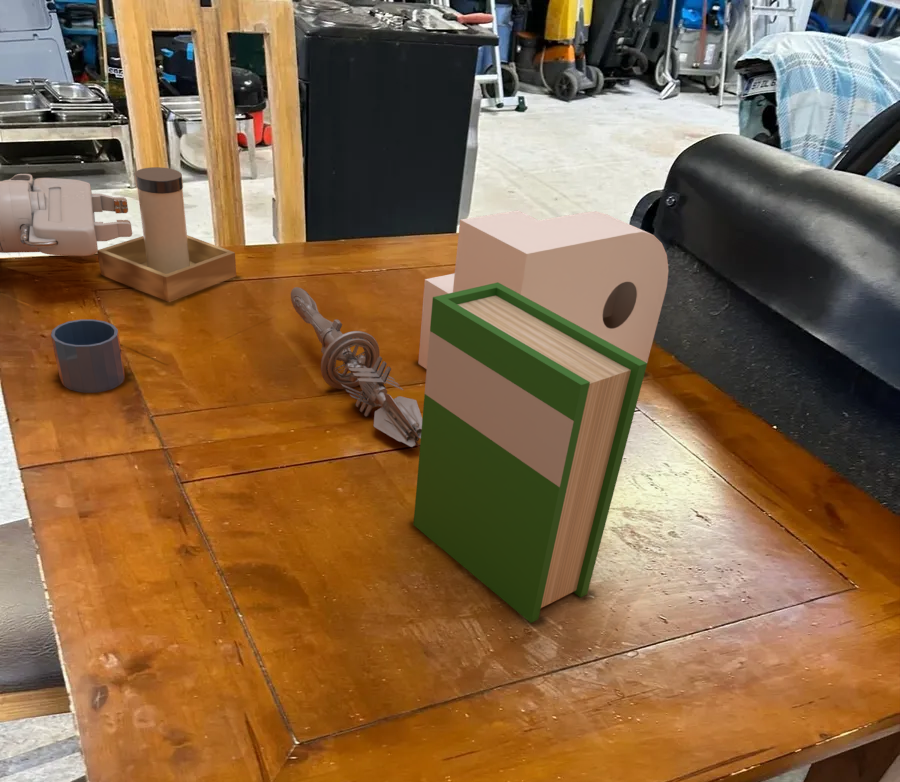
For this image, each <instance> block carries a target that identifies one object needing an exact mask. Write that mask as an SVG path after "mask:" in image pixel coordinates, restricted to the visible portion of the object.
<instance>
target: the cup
mask: <svg viewBox="0 0 900 782" xmlns="http://www.w3.org/2000/svg"><path fill="white" fill-rule="evenodd" d="M50 337H51V338H50V339H51V342H52V347H53V353H54V357H55V362H56V366H57V373H58V376H59V380H60V382H61V384H62V385H63V386H64V387H65V388H66V389H68V390H70V391H74V392H77V393H87V394H88V393H89V394H90V393H91V394H92V393H102V392H106V391H110V390H113V389H115V388H117V387H119V386H120V385H121V384H122V383H124V381H125V378H126V377H125V367H124V359H123V353H122V347H121V340H120V334H119V329H118V328H117V327H116V326H115V325H114V324H112V323H110V322H108V321H105V320H99V319H93V318H92V319H89V318H87V319H86V318H85V319H83V318H82V319H75V320H69V321H66V322H63V323H61V324H58V325H57V326H56V327H54V328H53V329H52V330H51V334H50Z"/></svg>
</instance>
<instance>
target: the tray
mask: <svg viewBox="0 0 900 782" xmlns="http://www.w3.org/2000/svg"><path fill="white" fill-rule="evenodd" d="M187 241H188V251H189V261H190V266H188V267H185V268H182V269H179V270H176V271H174V272H171V273H168V274H164V273H162V272H159V271H157V270H154V269H152V268H149V267H147V260H146V252H145V244H144V236H143V235H142V236H138V237H135V238H132V239H129V240H126V241H122V242H119V243H116V244H113V245H109V246H107V247H102V248H100V249H99V248H98V252H97V253H96V254H97V259H98V265H99V266H98V267H99V271H100V275H101V276H103V277H105V278H107V279H110V280H113V281H115V282H117V283H120V284H122V285H125V286H128V287H130V288H132V289H134V290H137V291H140V292H143V293H145V294H147V295H149V296H151V297H155V298H157V299H160V300H162V301H165V302H167V303H171V302H173V301H176V300H178V299H181V298H183V297H186V296H189V295H192V294H194V293H197V292H200V291H202V290H205V289H207V288H210V287H212V286H215V285H218V284H220V283H223V282H225V281H228V280H231V279H233V278H235V277H237V264H236V252H235V251H232V250H230V249H226V248H224V247H221V246H219V245H215V244H212V243H210V242H207V241H205V240H202V239H199V238H197V237H193V236H191V235H188V234H187Z"/></svg>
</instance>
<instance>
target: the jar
mask: <svg viewBox="0 0 900 782" xmlns="http://www.w3.org/2000/svg"><path fill="white" fill-rule="evenodd" d="M134 179H135V187H136V189H137V196H138V204H139V211H140V212H139V213H140V221H141V227H142V228H141V229H142V236H144V244H145V252H146V260H147V267H149V268H152V269H154V270H157V271H159V272H162V273H164V274H168V273H171V272H174V271H176V270H179V269H182V268H185V267H188V266H190V261H189V251H188V241H187V235H188V232H187V219H186V210H185V199H184V189H183V188H184V182H183V174H182V173H181V172H180V171H178V170H177V169H173V168H169V167H162V166H161V167H159V166H158V167H157V166H156V167H144V168H140V169H137V170H136V171H135V172H134Z"/></svg>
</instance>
